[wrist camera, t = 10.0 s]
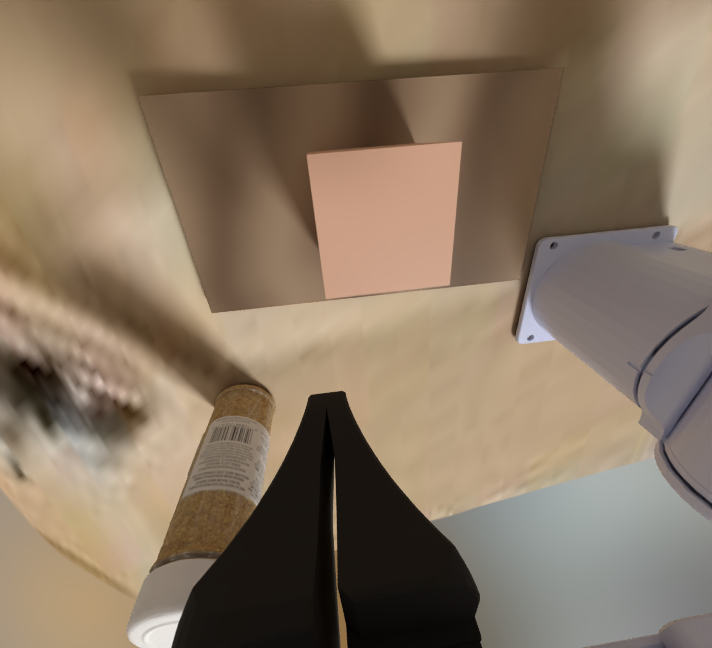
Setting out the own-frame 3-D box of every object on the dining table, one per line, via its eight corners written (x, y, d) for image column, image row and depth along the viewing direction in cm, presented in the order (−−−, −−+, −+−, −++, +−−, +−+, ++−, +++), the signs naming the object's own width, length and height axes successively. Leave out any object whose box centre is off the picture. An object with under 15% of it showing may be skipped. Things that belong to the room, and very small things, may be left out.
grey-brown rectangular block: (553, 71, 16) (663, 35, 11) (513, 275, 21) (573, 314, 16) (145, 98, 15) (56, 73, 10) (215, 307, 20) (181, 360, 15)
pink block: (414, 143, 16) (461, 141, 11) (412, 246, 19) (449, 285, 14) (309, 152, 16) (306, 154, 10) (323, 256, 18) (325, 299, 13)
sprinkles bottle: (209, 416, 25) (113, 658, 13) (226, 373, 23) (131, 611, 11) (266, 430, 26) (225, 659, 14) (285, 391, 24) (257, 618, 13)
